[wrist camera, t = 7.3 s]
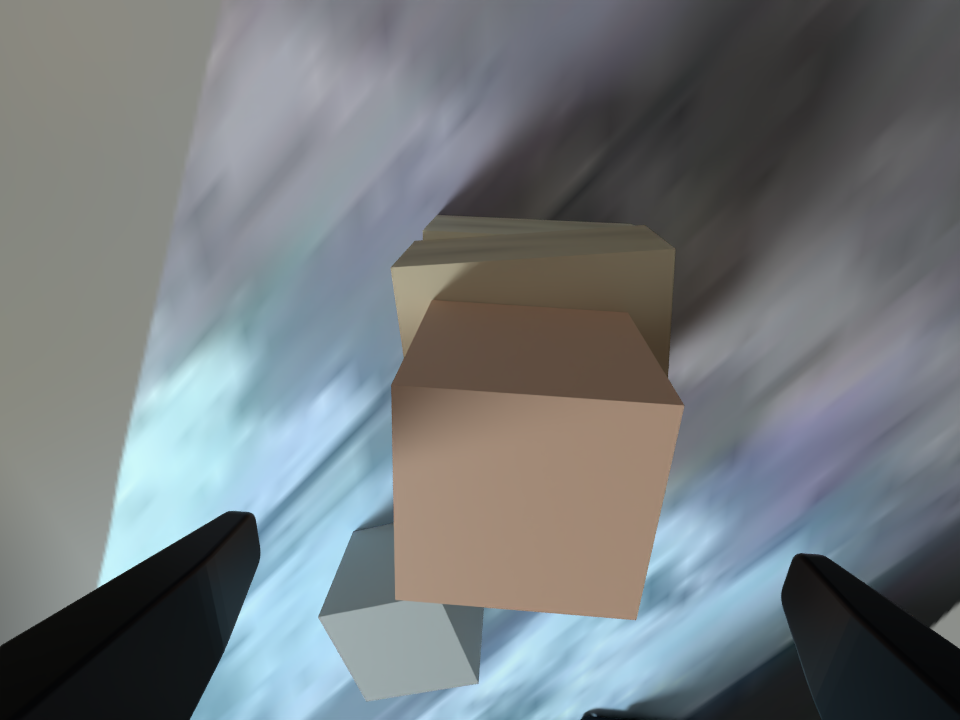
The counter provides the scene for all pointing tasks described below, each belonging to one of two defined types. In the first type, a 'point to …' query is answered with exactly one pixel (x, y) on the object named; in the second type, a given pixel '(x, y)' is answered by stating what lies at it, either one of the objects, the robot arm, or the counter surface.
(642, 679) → the counter surface
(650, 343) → the beige squat block
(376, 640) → the grey block
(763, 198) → the counter surface
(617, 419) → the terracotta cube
